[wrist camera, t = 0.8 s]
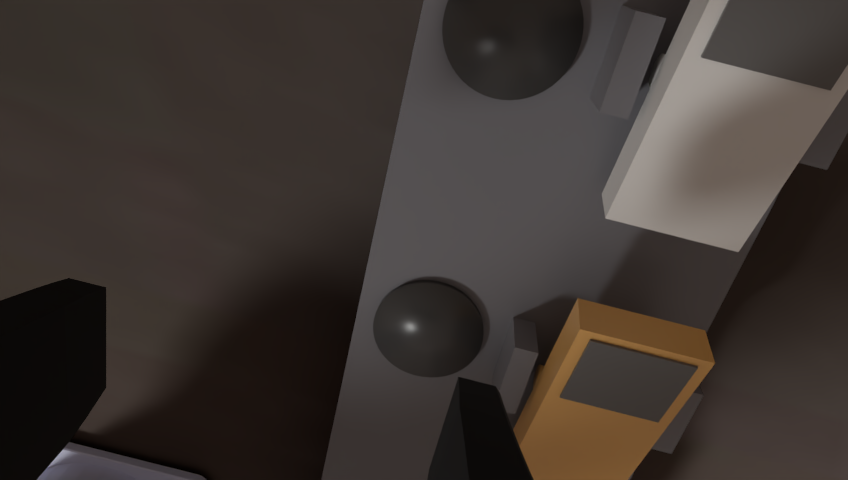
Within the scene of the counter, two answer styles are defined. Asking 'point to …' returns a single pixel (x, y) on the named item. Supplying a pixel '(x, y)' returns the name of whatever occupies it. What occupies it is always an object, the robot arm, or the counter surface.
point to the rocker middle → (608, 392)
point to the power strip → (513, 219)
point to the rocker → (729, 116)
